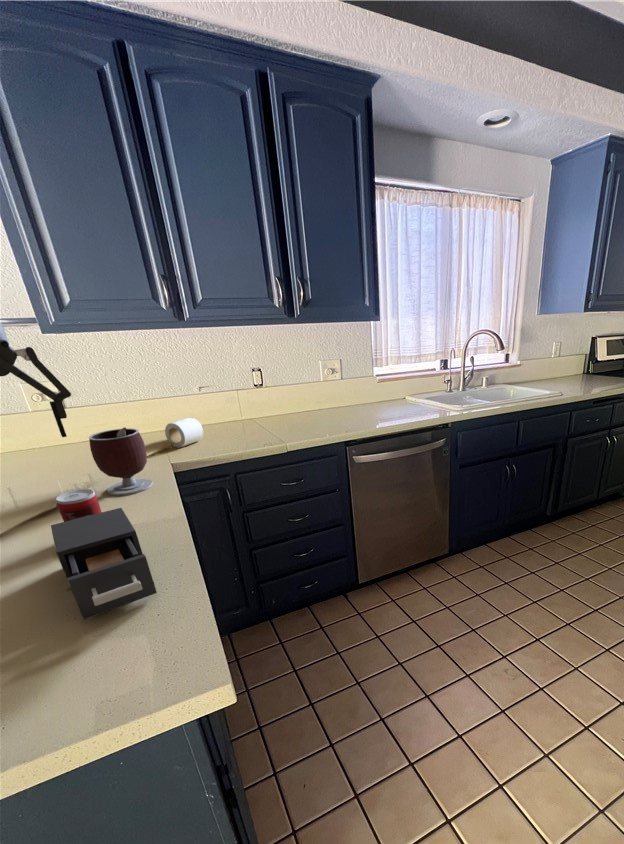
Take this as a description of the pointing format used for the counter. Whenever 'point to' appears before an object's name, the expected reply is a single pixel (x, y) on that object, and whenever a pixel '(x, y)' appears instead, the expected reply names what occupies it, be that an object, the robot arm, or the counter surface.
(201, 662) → the counter surface
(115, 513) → the cabinet
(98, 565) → the block
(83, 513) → the canned food
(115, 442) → the mate gourd
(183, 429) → the toilet paper
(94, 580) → the drawer
